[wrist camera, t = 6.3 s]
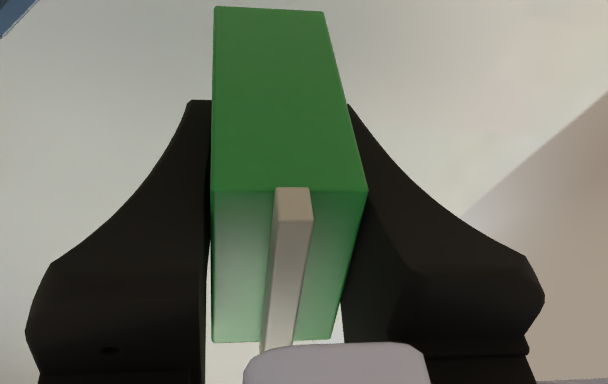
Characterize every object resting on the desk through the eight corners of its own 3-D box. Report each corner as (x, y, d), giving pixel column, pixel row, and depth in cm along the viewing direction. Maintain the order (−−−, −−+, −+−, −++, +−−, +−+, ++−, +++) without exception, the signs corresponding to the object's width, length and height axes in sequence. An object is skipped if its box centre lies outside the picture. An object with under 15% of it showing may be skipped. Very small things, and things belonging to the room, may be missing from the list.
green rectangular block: (213, 157, 18) (210, 379, 13) (213, 0, 14) (209, 220, 9) (305, 159, 18) (338, 374, 13) (327, 6, 15) (384, 219, 10)
